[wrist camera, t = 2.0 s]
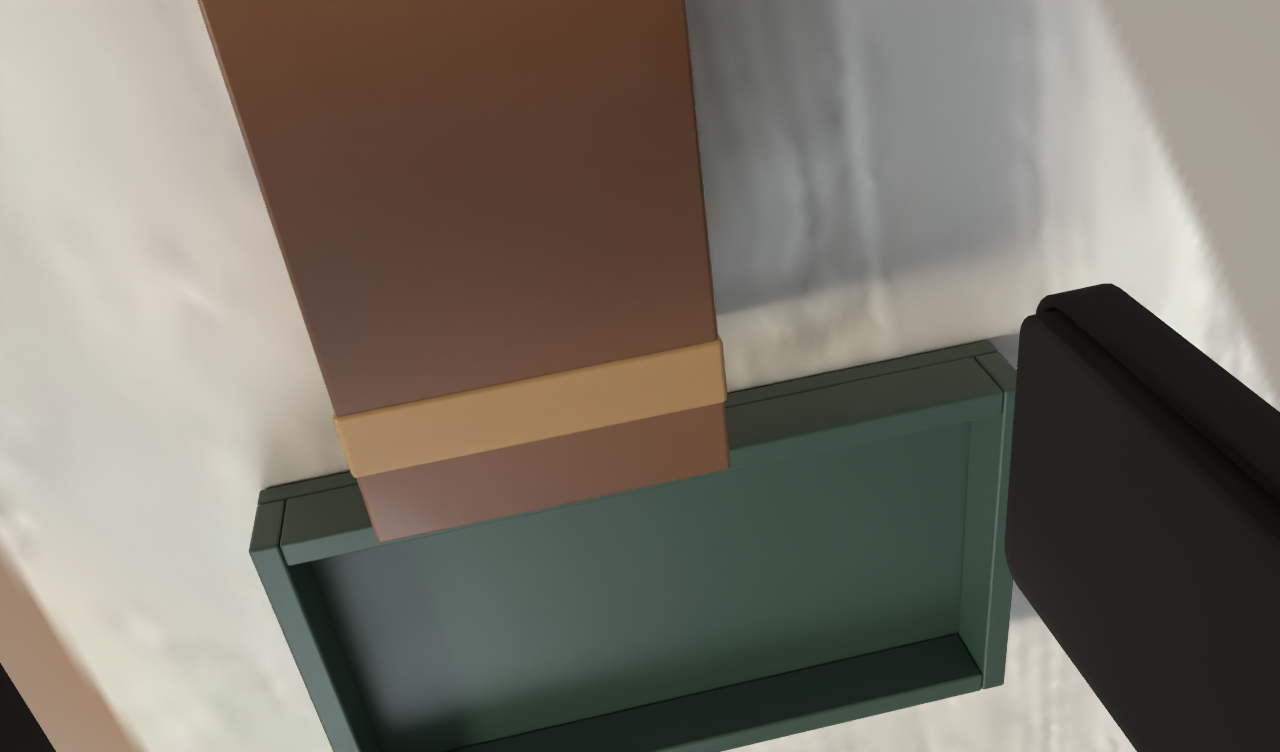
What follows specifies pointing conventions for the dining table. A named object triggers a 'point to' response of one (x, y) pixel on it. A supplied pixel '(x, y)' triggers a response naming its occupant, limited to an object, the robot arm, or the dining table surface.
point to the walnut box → (489, 242)
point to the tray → (676, 583)
